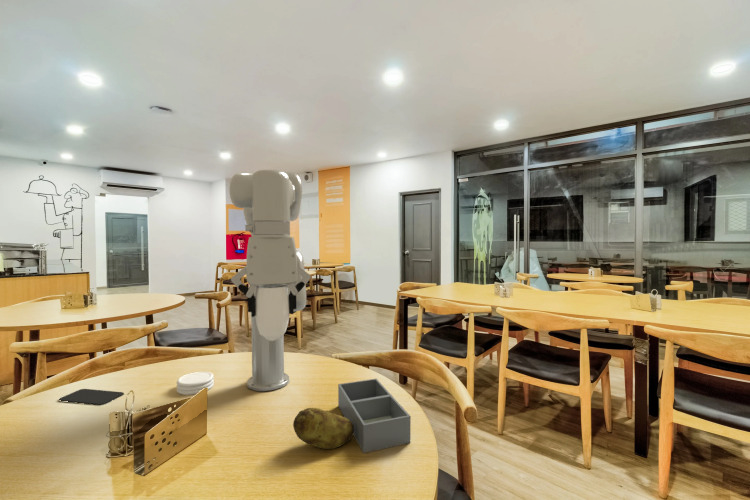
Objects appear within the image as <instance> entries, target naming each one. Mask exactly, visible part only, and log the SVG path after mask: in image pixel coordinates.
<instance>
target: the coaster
mask: <svg viewBox="0 0 750 500" xmlns="http://www.w3.org/2000/svg"><path fill="white" fill-rule="evenodd" d="M214 377H215V376H214V373H212V372H210V371H195V372H190V373H187V374H184V375H181V376H180V377H179V378H178V379H177V380H176V393H178V394H180V395H183V396H192V395H197V394H196V393H198V392H199V391H200V390H202V389H203V388H206V387H207V388H208V390H207V391H209V390H211V389H212V388H213V387H214V384H215V382H214Z"/></svg>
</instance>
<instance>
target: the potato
mask: <svg viewBox="0 0 750 500" xmlns="http://www.w3.org/2000/svg"><path fill="white" fill-rule="evenodd" d="M292 425H293V430H294V432H295V435H296V436H297V438H298V439H299V440H301V442H304V443H305V444H308V445H311V446H315V447H316V448H320V449H323V450H329V449H335V448H339V447H341V446H343V445H344V444H346V443H347V442H349V441H350V440H351V439H352V438H353V436H354V434H353V432H354V427H353V424H352V422H351V421H350V420H349V419H347V418H345V417H344V416H342V415H338V414H336V413H333V412H330V411H327V410H323V409H321V408H320V407H319V408H317V407H308V408H304V409H302V410H300V411H299V412H298V414H296V416H295V417H294V420H293V424H292Z"/></svg>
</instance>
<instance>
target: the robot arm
mask: <svg viewBox="0 0 750 500" xmlns="http://www.w3.org/2000/svg"><path fill="white" fill-rule="evenodd" d="M228 191H229V198H230V201H231V203H232V204H233V206H234V207H235V208H238V209H243V216H244V220H245V222H246V224H245V225H244V227H245V232H249V233H250V235H251V236H250V237H248V243H247V249H246V250H247V251H246V265H245V266H244V267H243V268H242V269H241V270H239V271H238V272H237V273H236V274H234V275H233V276H232V277H231V278H230V281H231V282H232V284H234V285H235V287H236V288H237V289H238V290H239V291H240V292H241V293H243V295H245V296H246V298H247V313H250V323H251V369H252V370H251V374H252V375H251V377H250V378H248V379H247V382H246V386H247V388H249V389H250V390H252V391H255V392H256V391H257V392H267V391H268V392H269V391H275V390H278V389H280V388H283V387H285V386H287V385H288V383H290V376H289V374H287V373H286V372H285V355H284V354H285V351H284V350H285V349H284V347H285V343H284V341H285V339H284V334H285V333H284V334H282V335H281V337H280V338H279V339H277V340H274V341H270V340H267V339H265V337H264V336H262V335H260V333H259V330H258V328H257V324H256V318H255V297H256V290H257V286H264V285H287V288H288V294H289V303H290V314H289V315H294V312H300V311H303V310H304V309H305V307H306V306H307V287H306V286H307V285H306V284H307V283H308V282H309V281H310V280H311V277H312V276H311V274H309V273H308V272H307V271H305V261H304V257H303V254H302V253H301V252H300V251H299V250H297V247H296V242H295V241H296V240H295V237H294V236H291V224H290V223H291V222H295V221H296V220H297V219H298V218H299V214H300V209H301V202H302V197H303V183H302V180H301V178H300V176H299V175H298V174H297V173H295V172H288V171H281V170H276V169H261V170H257V171H255V172H249V173H248V172H246V173H244V172H243V173H242V172H241V173H235V174H233V176H232V178H231V180H230V182H229V190H228ZM244 277H246V282H247V284H249V286H247V285H245V284H244V283H243V281H242V280H241V279H242V278H244Z"/></svg>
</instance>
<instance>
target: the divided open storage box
mask: <svg viewBox="0 0 750 500" xmlns="http://www.w3.org/2000/svg"><path fill="white" fill-rule="evenodd" d="M337 388H338V390H337V392H338V393H337V396H338V399H337V400H338V409H339V410H340V411H341V413H342V415H343V417H345V418H347V419H349V420H350V421H351V422H352V424H353V427H354V432H353V436H354V438H355V440H356V442H357V444H358V446H359V447H360V449H361V450H362V453H364V454H366V453H370V452H374V451H379V450H383V449H388V448H392V447H393V448H394V447H396V446H400V445H405V444H406V445H407V444H410V443H411V419H412V418H411V415H410V413H408V412H407V411H406V410H405V408H404V407H403V406H402V405H401V404H400V403H399V402H398V401H397V400H396V398H395V397H394V396H393V395H392V394H391V393H390V392H389V391H388V389H386V387H385V386H384V385H383V384H382V383H381V382H380V381H379V379H377V378H372V379H363V380H357V381H352V382H351V381H350V382H344V383H338V387H337Z"/></svg>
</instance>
